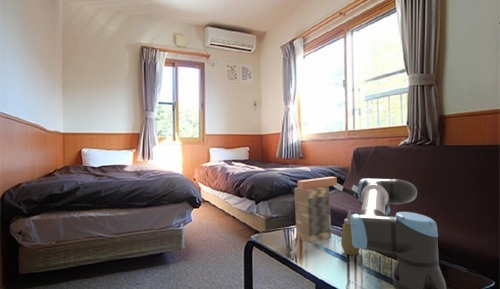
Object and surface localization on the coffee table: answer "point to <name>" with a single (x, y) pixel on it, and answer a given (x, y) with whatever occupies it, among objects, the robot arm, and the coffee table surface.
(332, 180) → the rail
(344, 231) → the squeeze bottle
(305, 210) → the stand
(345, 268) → the coffee table surface
